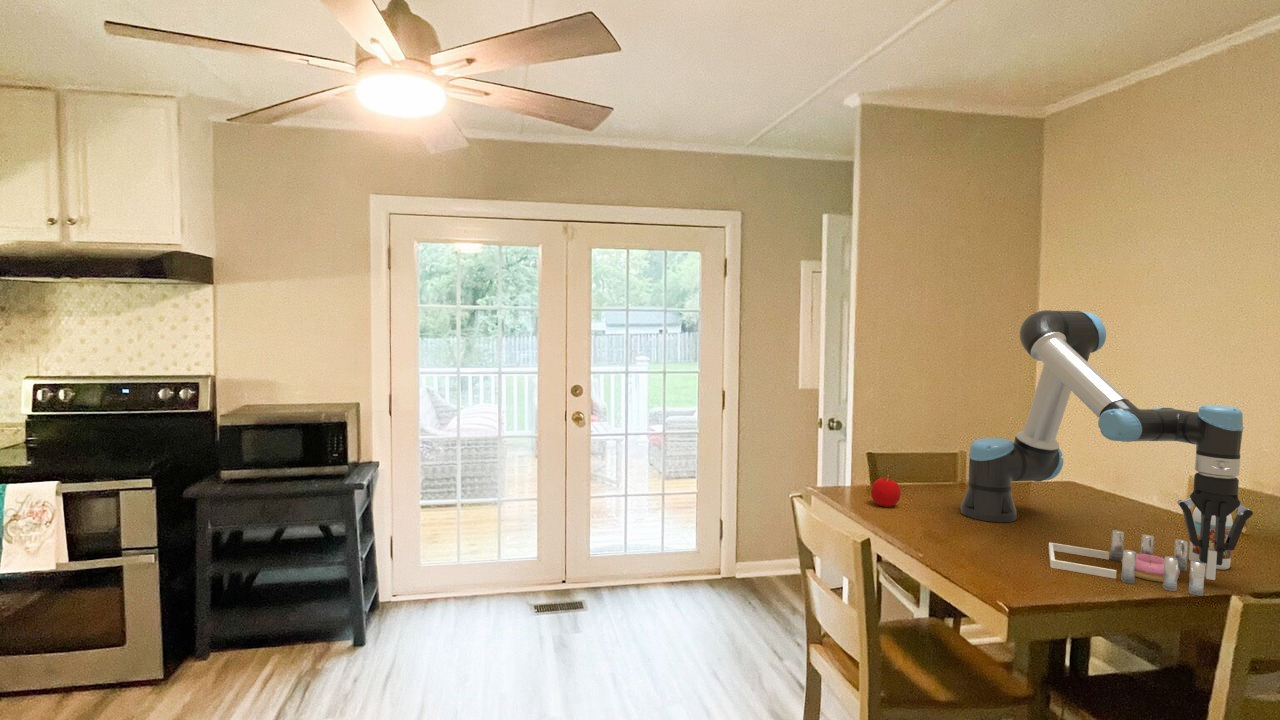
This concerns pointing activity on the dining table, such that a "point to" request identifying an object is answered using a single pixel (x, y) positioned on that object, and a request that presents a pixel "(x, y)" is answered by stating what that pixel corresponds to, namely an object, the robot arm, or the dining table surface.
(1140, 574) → the doughnut
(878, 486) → the fruit
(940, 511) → the dining table surface
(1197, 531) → the milk bottle
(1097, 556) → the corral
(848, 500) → the dining table surface
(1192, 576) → the spacers
